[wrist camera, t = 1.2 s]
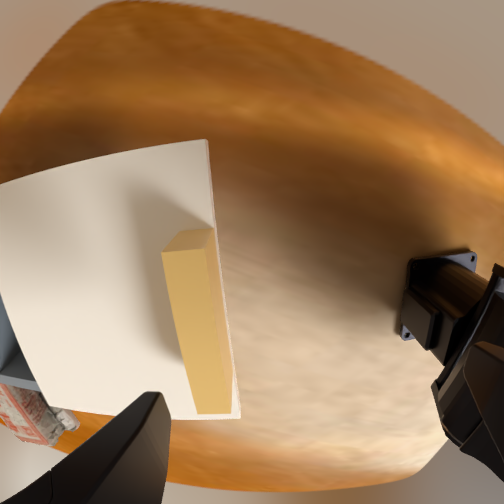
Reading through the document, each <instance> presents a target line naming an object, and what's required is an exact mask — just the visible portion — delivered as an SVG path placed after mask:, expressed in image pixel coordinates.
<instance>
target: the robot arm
mask: <svg viewBox="0 0 504 504" xmlns="http://www.w3.org/2000/svg"><path fill="white" fill-rule="evenodd" d="M471 257H472V259H471ZM470 259H471V260H470ZM476 262H477V254H476V253H475V252H473V251H466V252H458V253H450V254H442V255H433V256H425V257H416V258H412V259H411V260H410V261H409V263H408V269H407V280H406V288H405V290H404V294H403V303H402V311H401V318H400V321H401V328H400V337H401V338H402V339H403V340H404V341H407V340H411V339H416V340H417V341H418V342H419V343H420V344H421V346H422V347H423V348H424V349H425V350H426V351H428V350H431V352H432V353H433V354H434V355H435V356H436V358H437V359H438V360H439V361H440V362H441V364H442V365H443V366H445V367H444V369H443V371H442V372H441V374H440V375H439V377H438V378H437V379H435V381H434V382H433V384H432V385H431V389H432V392H433V396H434V399H435V403H436V406H437V410H438V413H439V417H440V421H441V425H442V428H443V430H444V432H445V435H446V436H447V437H448V438H449V439H450V440H451V441H452V442H453V443H454V444H455V445H457V446H458V447H460V451H461V452H463V453H465V454H468V455H470V456H472V457H474V458H476V459H477V460H479V461H481V462H482V463H484V464H485V465H486V466H487V467H488V468H490V469H491V470H492V471H493V472H494V473H495V474H496V475H497V476H498V477H499V478H500V479H501V480H502V481H503V482H504V267H502V266H500V265H498V264H496V263H495V264H494V267H493V269H492V272H493V273H492V276H491V278H490V280H489V281H487V280H486V279H484V278H482V277H481V276H479V275H478V274H476V273H475V269H476ZM415 263H417V265H416V267H415V268H413V266H414V264H415ZM407 332H408V333H407ZM406 333H407V334H406ZM405 334H406V335H405ZM170 431H171V415H170V412H169V409H168V407H167V404H166V401H165V398H164V396H163V394H162V393H161V392H159V391H146V392H144V393H143V394H141V395H140V396H139V397H138V398H137V399H136V400H134V401H133V402H132V403H131V404H130V405H128V406H127V407H126V408H125V409H124V410H123V411H121V412H120V413H119V414H118V415H117V416H115V417H114V418H113V419H112V420H111V421H109V422H108V423H107V424H106V425H105V426H103V427H102V428H101V429H100V430H99V431H97V432H96V433H95V434H94V435H92V436H91V437H90V438H89V439H88V440H86V441H85V442H84V443H83V444H81V445H80V446H79V447H78V448H76V449H75V450H74V451H73V452H72V453H70V454H69V455H68V456H67V457H65V458H64V459H63V460H62V461H60V462H59V463H58V464H57V465H55V466H54V467H53V468H52V469H51V471H50V470H49V471H47V472H46V473H45V474H44V475H42V476H41V477H40V478H38V479H37V480H36V481H34V482H33V483H31V484H30V485H29V486H27V487H26V488H25V489H23V490H22V491H20V492H18V493H17V494H15V495H13V496H12V497H10V498H8V499H7V500H5V501H3V502H1V503H0V504H161V503H162V497H163V492H164V487H165V482H166V477H167V470H168V457H169V443H170Z"/></svg>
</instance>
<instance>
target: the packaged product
mask: <svg viewBox="0 0 504 504" xmlns="http://www.w3.org/2000/svg"><path fill="white" fill-rule="evenodd" d="M0 417H1V418H2V419H3V421H4V422H5V424H6V425H7V426H8V427H9V429H10V430H11V431H12V432H13V433H14V435H15V436H16V437H18V438H19V439H20V440H21V441H23V442H24V441H26V442H32V443H35V444H39V445H46V446H55V444H56V442H58V437H59V436H60V435H62V433H63V431H64V430H70V431H72V432H73V431H75V430H76V429H77V428H78V427H79V425H80V422H79V421H78V420H77V418H76V417H75V415H74V414H73V413H72V411H71V410H70V409H64V408H58V407H53V406H49V404H48V402H47V401H46V399H45V397H44V395H43V393H42V392H40V391H35V390H30V389H25V388H20V387H16V386H11V385H7V384H3V383H0Z"/></svg>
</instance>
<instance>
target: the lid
mask: <svg viewBox="0 0 504 504" xmlns="http://www.w3.org/2000/svg"><path fill="white" fill-rule="evenodd" d="M0 294H1V297H2V300H3V303H4V306H5V309H6V312H7V315H8V317H9V320H10V323H11V325H12V328H13V331H14V333H15V336H16V338H17V340H18V343H19V345H20V348H21V350H22V352H23V354H24V357H25V359H26V361H27V363H28V365H29V368H30V370H31V372H32V374H33V376H34V378H35V380H36V382H37V384H38V386H39V388H40V390H41V391H42V393H43V395H44V397H45V399H46V401H47V402H48V404H49V406H53V407H58V408H64V409H70V410H76V411H82V412H89V413H97V414H105V415H114V416H117V415H118V414H119V413H120V412H121V411H123V410H124V409H125V408H126V407H127V406H128V405H130V404H131V403H132V402H133V401H134V400H136V399H137V398H138V397H139V396H140V395H141V394H143V393H144V392H146V391H159V392H161V393H162V394H163V396H164V398H165V401H166V404H167V407H168V409H169V412H170V415H171V419H178V420H214V419H241V406H240V399H239V393H238V386H237V380H236V373H235V366H234V359H233V353H232V346H231V338H230V331H229V324H228V317H227V309H226V301H225V294H224V286H223V278H222V270H221V262H220V253H219V245H218V236H217V227H216V218H215V209H214V199H213V190H212V180H211V170H210V159H209V148H208V140H206V139H201V140H193V141H185V142H178V143H171V144H165V145H159V146H153V147H147V148H141V149H136V150H130V151H125V152H120V153H115V154H110V155H105V156H101V157H96V158H92V159H88V160H83V161H79V162H75V163H71V164H67V165H63V166H59V167H56V168H52V169H48V170H45V171H41V172H38V173H34V174H31V175H28V176H24V177H21V178H18V179H15V180H12V181H9V182H6V183H3V184H0Z"/></svg>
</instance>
